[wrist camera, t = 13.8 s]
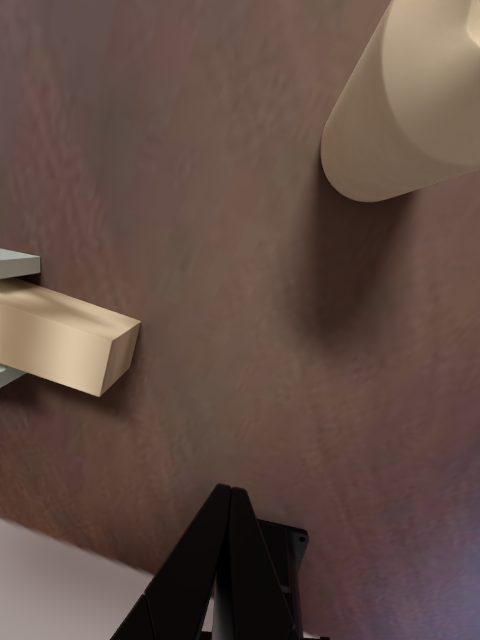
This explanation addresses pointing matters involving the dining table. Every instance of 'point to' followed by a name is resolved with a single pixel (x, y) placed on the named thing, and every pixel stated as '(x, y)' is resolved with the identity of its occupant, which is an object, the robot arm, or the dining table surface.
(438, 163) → the candle
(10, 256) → the rail
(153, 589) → the robot arm
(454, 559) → the dining table surface
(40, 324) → the tan wooden block
